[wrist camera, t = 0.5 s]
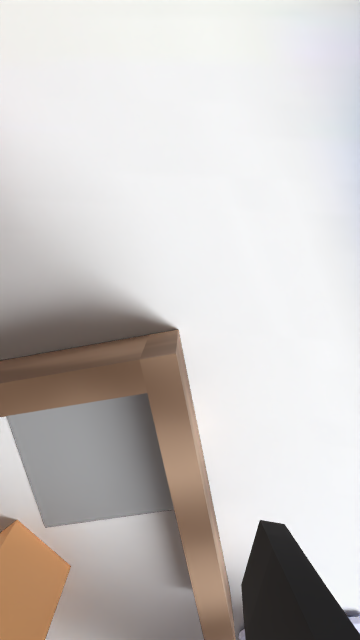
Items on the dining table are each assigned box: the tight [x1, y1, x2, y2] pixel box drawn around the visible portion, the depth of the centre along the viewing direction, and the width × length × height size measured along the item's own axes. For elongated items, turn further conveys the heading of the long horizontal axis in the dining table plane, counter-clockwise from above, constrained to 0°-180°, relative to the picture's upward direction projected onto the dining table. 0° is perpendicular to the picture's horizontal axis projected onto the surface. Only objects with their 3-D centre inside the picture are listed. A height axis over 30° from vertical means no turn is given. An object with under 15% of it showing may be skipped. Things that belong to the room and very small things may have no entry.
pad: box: [7, 393, 174, 528], centre depth 19 cm, size 9×8×1 cm
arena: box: [0, 330, 236, 640], centre depth 18 cm, size 17×17×4 cm
